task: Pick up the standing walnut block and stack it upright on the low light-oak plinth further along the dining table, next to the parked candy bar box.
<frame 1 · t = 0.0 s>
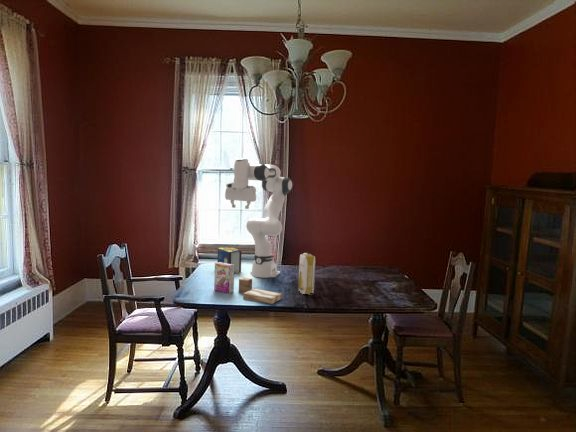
hand: (240, 208, 259), 48 cm above the table, fingers open, 8 cm apart
protein box: (228, 271, 301), on the table
walnut block: (245, 291, 251), on the table
juice carton: (305, 293, 254), on the table
candy bar box: (223, 291, 250), on the table
plinth: (262, 298, 239), on the table
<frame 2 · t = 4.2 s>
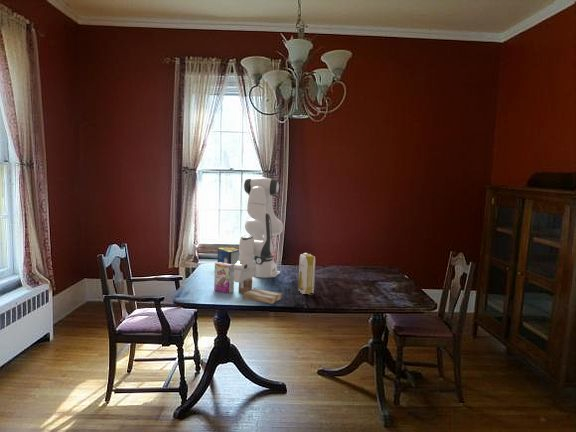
hand: (245, 286, 250), 3 cm above the table, fingers closed on walnut block, 5 cm apart
walnut block: (245, 291, 251), on the table, touching gripper
everything else where it was.
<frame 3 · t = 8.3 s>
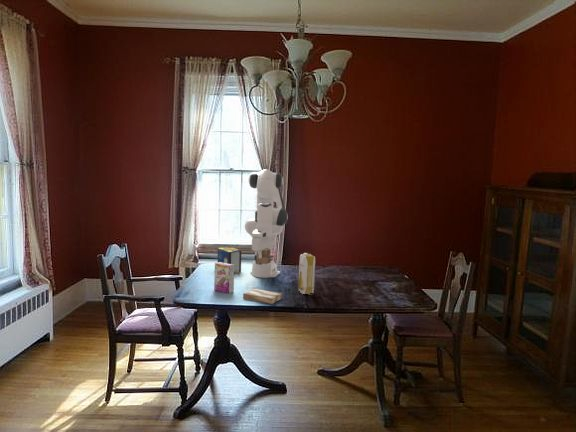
hand: (263, 257, 236), 24 cm above the table, fingers closed on walnut block, 5 cm apart
walnut block: (263, 262, 237), point 20 cm above the table, touching gripper
everything else where it was.
when the fingers open (7 cm above the table, at t = 12.2 s): walnut block stays where it is, resting on plinth.
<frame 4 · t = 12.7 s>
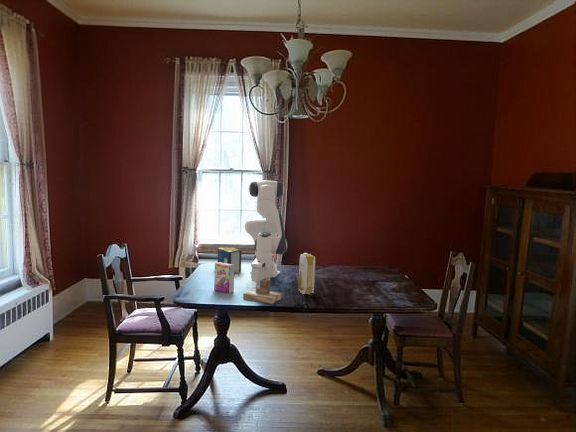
hand: (262, 286, 238), 7 cm above the table, fingers open, 8 cm apart
walnut block: (262, 293, 239), point 3 cm above the table, touching plinth
everything else where it was.
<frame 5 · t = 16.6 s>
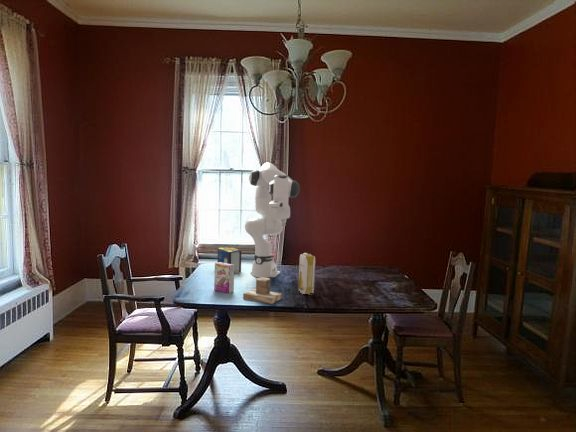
hand: (279, 227, 246), 39 cm above the table, fingers open, 8 cm apart
nothing on the table moved.
at the end: walnut block touching plinth; walnut block 0.1 cm from the plinth (horizontally); walnut block tilted 0° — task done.
